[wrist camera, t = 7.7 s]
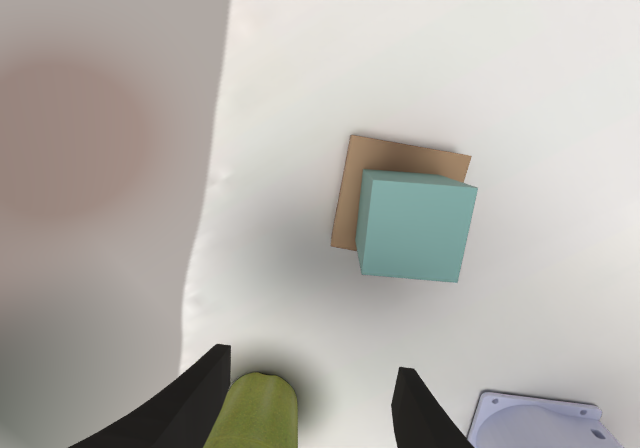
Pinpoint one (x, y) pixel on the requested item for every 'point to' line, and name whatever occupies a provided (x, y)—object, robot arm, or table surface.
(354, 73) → the table surface
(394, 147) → the walnut slab
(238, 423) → the plant pot
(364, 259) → the teal cube
